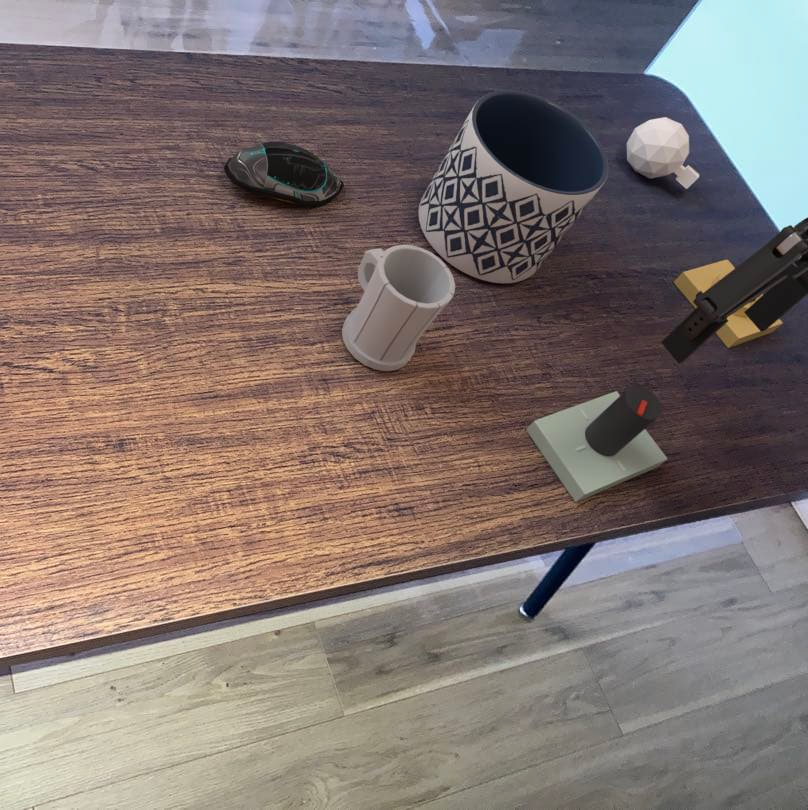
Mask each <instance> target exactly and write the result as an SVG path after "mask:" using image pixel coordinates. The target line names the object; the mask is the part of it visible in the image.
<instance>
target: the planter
mask: <svg viewBox="0 0 808 810" xmlns="http://www.w3.org/2000/svg"><path fill="white" fill-rule="evenodd" d="M608 161H609V159H608V157H607V153H606V151H605V149H604V147H603V144H602V143H601V142H600V140H599V139H598V137H597V136H596V135H595V133H594V132H593V131H592V130H591V129H590V128H589V126H588V125H586V124H585V123H584V122H583V121H582V119H580V118H579V117H577V116H576V115H575V114H574V113H572V112H571V111H569V110H568V109H566V108H565V107H563V106H561V105H560V104H558V103H556V102H553V101H552V100H550V99H547V98H545V97H543V96H540V95H537V94H534V93H531V92H526V91H521V90H511V89H503V90H495V91H491V92H489V93H487V94H485V95H483V96H482V97H480V98H479V99H478V100H477V101H476V102H475V104H474V105H473V107H472V108H471V110H470V112H469V114H468V115H467V117H466V118H465V121H464V122H463V124H462V126H461V128H460V129H459V131H458V133H457V134H456V137H455V138H454V140H453V142H452V143H451V145H450V147H449V149H448V150H447V152H446V154H445V156H444V158H443V159H442V161H441V163H440V165H439V167H438V168H437V170H436V172H435V174H434V175H433V178H432V179H431V181H430V182H429V184H428V187H427V188H426V190H425V191H424V193H423V195H422V197H421V200H420V203H419V204H418V211H417V212H418V221H419V225H420V228H421V231H422V232H423V235H424V237H425V239H426V240H427V242H428V243H429V245H430V246H431V247H432V249H434V251H435V252H436V253H437V254H438V255H439V256H440V257H441V258H442V259H443V260H444V261H446V262H447V263H448V264H450V265H451V266H452V267H454V268H455V269H457V270H458V271H460V272H461V273H464V274H466V275H468V276H470V277H473V278H475V279H478V280H481V281H484V282H489V283H493V284H495V283H496V284H513V283H518V282H522V281H525V280H526V279H529V278H530V277H532V276H533V275H534V274H535V273H536V272H537V271H538V270H539V269H540V267H541V266H542V265H543V263H544V262H545V261H546V260H547V258H548V257H549V256H550V255H551V253H552V252H553V251H554V249H555V248H556V247H557V246H558V244H559V243H560V242H561V241H562V239H563V238H564V236H566V234H567V233H568V231H569V230H570V229H571V228H572V227H573V226H574V224H575V222H576V221H577V220H578V218H580V216H581V214H582V213H583V212H584V210H585V209H586V208H587V207H588V206H589V204H590V203H591V201H592V200H593V199H594V198H595V196H596V195H597V193H598V192H599V191H600V189H601V188H603V187H602V186H603V185H604V184H605V182H606V180H607V178H608V174H609V162H608Z"/></svg>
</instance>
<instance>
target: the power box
mask: <svg viewBox="0 0 808 810" xmlns="http://www.w3.org/2000/svg"><path fill="white" fill-rule="evenodd" d="M735 268H736V267H735V266H734V265H733V264H732V263H731V261H729V259H724V260H723V259H722V260H719V261H717V262H713V263H709V264H706V265H703V266H699V267H696V268H691V269H688V270H686V271H682V273H680V275H678V277H676V279H675V280H674V281H673V284H674V285H675V286H676V287H677V289H678V290H679V291H680V292H681V293H682V294H683V296H684V297H685V298H686V299H687V301H688V302H689V303H690V304H691V306H692V307H693V308H694V310H695V309H696V308H697V306H696V305H695V304H694V303H693V301H694V299H696V294H697V293H698V292H700V291H702V292H703V293H704V292H705V291H706V290H708V289H709V288H710V287H712V286H713V285H714V284H715V283H717V282H718V281H719V280H721V279H722V278H723V277H725V276H726V275H727V274H729V273H730V272H731V271H732V270H734V269H735ZM763 295H764V293H763V294H762V295H760V296H759V297H757V298H756V299H754V300H753V301H751V302H750V303H748V304H747V305H745V306H744V307H742V308H741V309H739V310H738V311H736V312H735V313H733V314H732V315H730V316H729V317H727V320H728V322H727V323H726V324H725V325H724V326H722V327H721V328H720V329H719V330H718V331H717V332H716V333H715V334H716V335H717V337H718V338H719V339H720V340H721V342H722V343H723V344H724V345H725V346H726V348H727V349H730V348H733V347H736V346H738V345H741V344H744V343H746V342H749V341H753V340H755V339H758V338H761V337H763V336H766V335H768V334H772V333H774V332H775V331H776V330H777V329H778V328H779V327H780V326H782V325H783V324H784V322H783V321H782V320H781V318H779V319H778V320H777V321H776V322H775V323H773V324H772V325H771V326H770V327H769V328H768V329H766V330H765V331H762V332H761V331H760V330H759V329H758V328H757V327H756V325H755V324H754V323H753V322H752V321H751V320H750V319H749V317H748V316H747V315H746V314H745V313H744V312H745V311H746V310H747V309H748V308H749V307H750V306H752V305H753V304H754V303H755V302H756V301H757V300H758V299H759V298H760V297H762V296H763Z"/></svg>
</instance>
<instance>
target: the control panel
mask: <svg viewBox="0 0 808 810" xmlns="http://www.w3.org/2000/svg"><path fill="white" fill-rule="evenodd" d="M620 395H621V394H620V393H619V392H618V391H617V390H616V391H613V392H610V393H607V394H605V395H602V396H599V397H596V398H593V399H590V400H588V401H585V402H582V403H579V404H577V405H574V406H571V407H568V408H565V409H562V410H560V411H557V412H554V413H552V414H548V415H546V416H544V417H540V418H538V419H535V420H533V421H532V422H531V423H530V424H529V426H528V427H526V429H525V431H526V433H527V434H528V436H529V437H530V438H531V440H532V442H533V443H534V444H535V446H536V447H537V448H538V450H539V451H540V453H541V454H542V456H543V457H544V459H545V460H546V462H547V463H548V465H549V467H550V468H551V469H552V470H553V472H554V473H555V475H556V476H557V478H558V479H559V481H560V482H561V484H562V486H564V488H565V489H566V491H567V492H568V494H569V495H570V496H571V498H572V499H573V501H574V502H575V503H578V502H581V501H582V500H585V499H587V498H589V497H592V496H594V495H597V494H598V493H601V492H604V491H606V490H609V489H610V488H613V487H615V486H617V485H619V484H622V483H624V482H627V481H630V480H631V479H633V478H636V477H638V476H641V475H643V474H646V473H647V472H649V471H652V470H654V469H657V468H658V467H660V466H661V465H663V463H665V462H666V461H667V460H668V457H667V456H666V455H665V453H664V451H662V449H661V448H660V447H659V445H658V444H657V443H656V441H655V440H654V438H653V437H652V436H651V435H650V434H649V432H648V430H647V428H646V429H644V430H643V431H642V432H641V433H640V434H639V435H638V436H636V437H635V438H634V439H633V440H632V441H631V442H629V443H628V444H627V445H626V446H625V447H624V448H622V449H621V450H620V451H619V452H618V453H617V454H615V455H613V456H604V455H601V454H599V453H597V452H596V451H595V450H593V449H592V448H591V447H590V445H589V444H588V442H587V440H586V437H585V430H586V428H587V427H588V426H589V425H590V424H591V423H592V422H593V421H594V420H595V419H596V418H597V417H598V416H599V415H600V414H601V413H602V412H603V411H604V410H606V409H607V408H608V407H609V406H610V405H611V404H612V403H613V402H614V401H615V400H616V399H617V398H618V397H619V396H620Z"/></svg>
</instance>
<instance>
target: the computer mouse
mask: <svg viewBox="0 0 808 810" xmlns="http://www.w3.org/2000/svg"><path fill="white" fill-rule="evenodd" d="M223 170H224V172H225V175H226V176H227V177H228V178H229V180H230V181H231V182H232V184H233V185H234V186H236V187H238V188H241V189H242V190H245V191H247V192H249V193H252V194H256V195H262V196H265V197H268V198H272V199H275V200H279V201H282V202H285V203H289V204H295V205H297V206H300V207H302V208H307V209H308V208H309V209H313V208H317V207H321V206H323V205H325V204H327V203H329V202H331V201H332V200H334V198H336V197H337V196H338V195H340V193H341V192H342V190H343V188H344V187H345V183H344V181H343V180H341V179H339V178H338V176H337V175H336V173H335V172H334V171H333V169H332V168H331V167H330V166H329V164H327V163H325V162H324V161H323V160H322V159H321V158H320V157H319V156H318V155H316V154H315V153H313V152H311V151H309V150H307V149H305V148H303V147H301V146H299V145H296V144H291V143H287V142H281V141H266V142H261V143H258V144H255V145H251V146H246V147H242V148H241V149H239V150H238V151H236V152H235V153H234V154H233V155H232V156H231V157H229V158H228V159H227V160H226V162H225V164H224V165H223Z"/></svg>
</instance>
